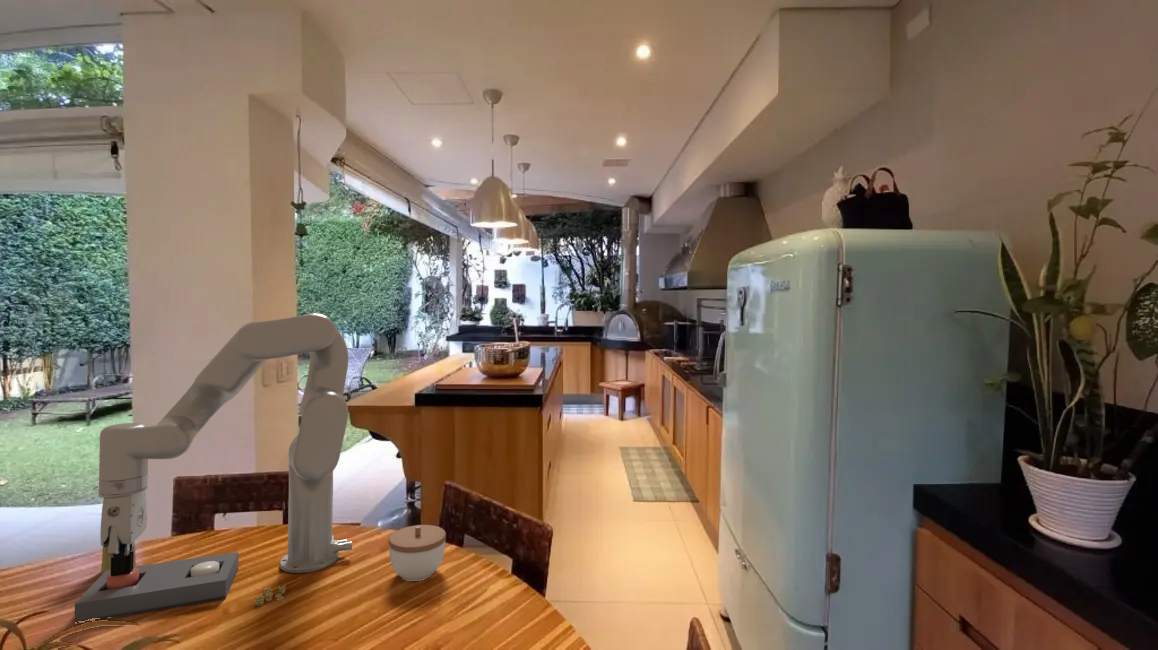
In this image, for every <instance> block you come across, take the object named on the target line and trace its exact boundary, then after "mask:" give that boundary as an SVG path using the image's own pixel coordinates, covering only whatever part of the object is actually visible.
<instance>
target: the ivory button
mask: <svg viewBox="0 0 1158 650" xmlns="http://www.w3.org/2000/svg"><path fill="white" fill-rule="evenodd" d="M215 573H219V562H217V561H208V562H203V563H200V564H197V565H195V566H193V567H192V568H191V577H195V576H202V575H208V574H215Z"/></svg>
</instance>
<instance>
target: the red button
mask: <svg viewBox="0 0 1158 650" xmlns="http://www.w3.org/2000/svg"><path fill="white" fill-rule="evenodd" d="M138 582H139V569H138V568H135V567H133V570H132V571H131V573H130V574H125V575H118V576H111V573H110V574H109V575H107V587H106V590H110V589H117V588H123V587H130V586H136V585H137V584H138Z"/></svg>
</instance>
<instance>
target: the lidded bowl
mask: <svg viewBox="0 0 1158 650" xmlns="http://www.w3.org/2000/svg"><path fill="white" fill-rule="evenodd" d="M446 538H447V533H446V531H445V529H443V528H442V527H440V526H437V525H431V524H416V525H411V526H406V527H403V528H400V529H397V530H396V531H394V532H393V533H392V534H391V535H390V536H389V538H388V545H389V548H388V549H389V560H390V565H391V568H392V570H394V572H395V573H396V574H397V575H398V576H400V578H401V577H402V578H401V580H403V579H404V580H407V581H406V582H408V581H419V582H422V581H421V580H423V579H426V578H428V577H430V576H431V575H432V574H433V575H434V573H435V572H436V571H437V570H438V569H439V567H440V565H441V563H442V561H443V558H444V555H445V549H446ZM433 575H432V576H433ZM432 576H431V577H432ZM431 577H430V578H431ZM428 579H429V578H428ZM404 580H403V581H404ZM426 580H427V579H426ZM423 581H424V580H423Z"/></svg>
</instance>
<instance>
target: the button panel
mask: <svg viewBox="0 0 1158 650" xmlns="http://www.w3.org/2000/svg"><path fill="white" fill-rule="evenodd" d="M239 554H240V552H239V551H234V552H230V553H229V552H228V553H227V552H226V553H221V554H220V553H219V554H214V555H208V556H207V555H206V556H200V557H199V556H198V557H191V558H186V559H178V560H171V561H164V562H157V563H151V564H150V563H149V564H143V565H136V566H134V567H135V568H138V569H139V582H138V584H137V585H136V586H130V587H123V588H117V589H110V590H106V587H107V575H109V574H110V573H111V570H106V571H105V572H104V573H103V574H102V573H101V575H100V577H99V578H97V579H96V581H95V582H94V583H93V584H91V586H90V587H89V588H88V590H86V591H85V592H84V593H83V594H82V595H81V596H80V598H79V599H78V600H77V601H76V602H75V603H74V623H75V622H77V623H79V622H78V621H85V620H88V619H92V618H100V619H95V620H100V621H104V620H107V619H106V618H108V617H117V618H123V617H127V616H133V615H139V614H144V613H151V612H150V611H152V612H158V611H162V610H169V609H174V608H182V607H186V606H193V605H198V604H203V603H209V602H216V601H222V600H227V597H228V594H229V592H230V590H231V587H232V584H233V582H234V580H235V578H236V575H237V573H238V570H239ZM208 561H217V562H219V573H215V574H208V575H202V576H195V577H191V568H192V567H193V566H195V565H197V564H200V563H203V562H208ZM89 621H90V620H89ZM89 621H85V622H88V623H90V622H89Z"/></svg>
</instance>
